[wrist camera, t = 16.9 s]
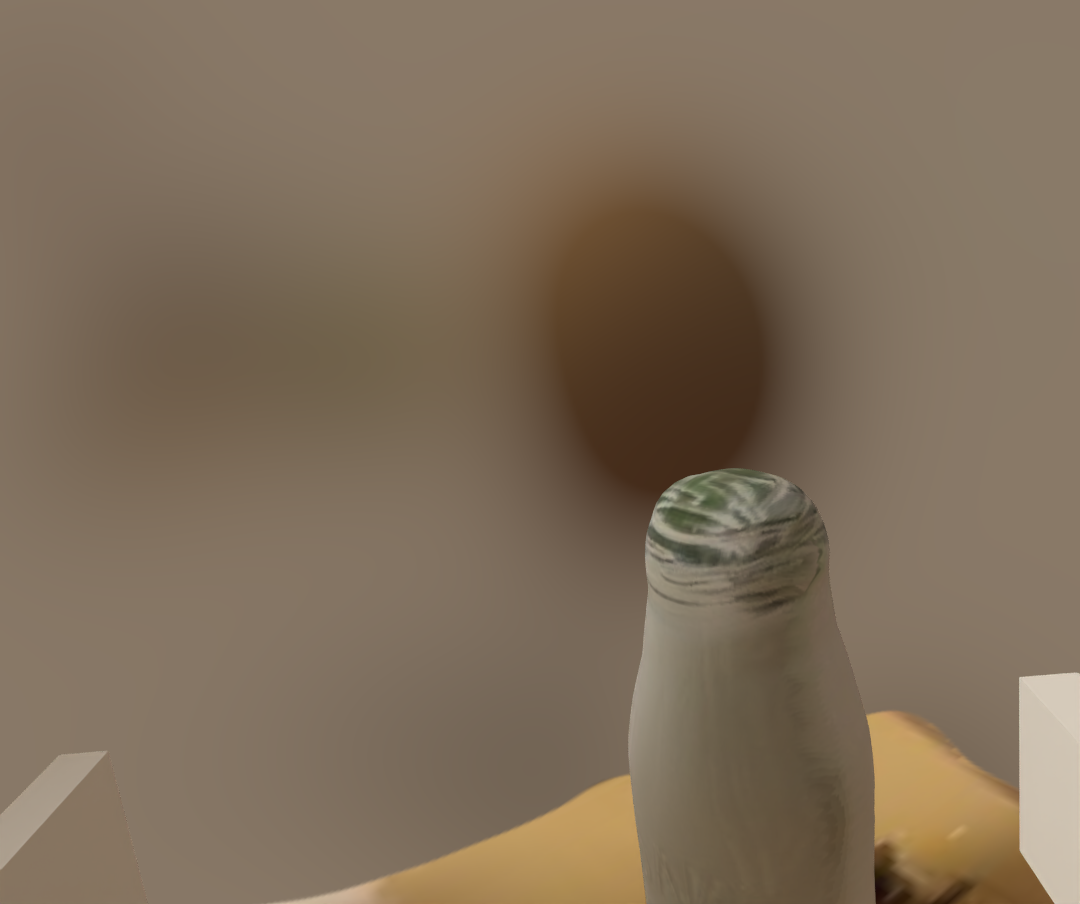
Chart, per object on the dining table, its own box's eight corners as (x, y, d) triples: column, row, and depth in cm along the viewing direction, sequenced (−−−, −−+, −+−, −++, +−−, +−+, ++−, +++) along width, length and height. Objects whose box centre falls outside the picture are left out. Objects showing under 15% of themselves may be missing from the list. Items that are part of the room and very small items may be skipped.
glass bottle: (622, 1048, 46) (553, 494, 39) (744, 925, 52) (703, 435, 46) (805, 1180, 39) (758, 530, 32) (919, 1019, 45) (901, 453, 39)
